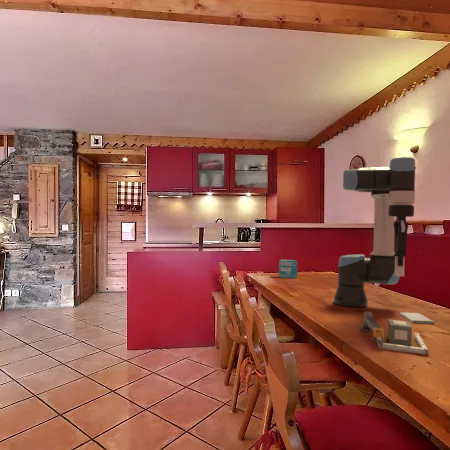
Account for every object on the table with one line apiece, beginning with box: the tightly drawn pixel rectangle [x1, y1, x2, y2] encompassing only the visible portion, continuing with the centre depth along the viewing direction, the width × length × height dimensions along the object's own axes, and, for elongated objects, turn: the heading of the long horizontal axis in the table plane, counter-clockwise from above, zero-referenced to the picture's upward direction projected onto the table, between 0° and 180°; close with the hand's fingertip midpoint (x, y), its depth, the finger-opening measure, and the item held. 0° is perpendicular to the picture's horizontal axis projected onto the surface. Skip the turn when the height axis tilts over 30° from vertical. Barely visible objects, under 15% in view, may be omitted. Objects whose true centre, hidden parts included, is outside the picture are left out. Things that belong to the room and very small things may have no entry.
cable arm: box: [366, 316, 385, 339], centre depth 114 cm, size 16×3×2 cm, turn 168°
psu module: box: [387, 318, 413, 347], centre depth 111 cm, size 7×6×6 cm
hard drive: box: [399, 311, 435, 325], centre depth 138 cm, size 2×8×12 cm
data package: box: [278, 259, 298, 279], centre depth 235 cm, size 12×4×12 cm, turn 87°
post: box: [359, 311, 373, 333], centre depth 123 cm, size 5×5×6 cm
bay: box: [375, 332, 429, 356], centre depth 110 cm, size 16×13×2 cm
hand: (399, 275), depth 113 cm, fingers closed
